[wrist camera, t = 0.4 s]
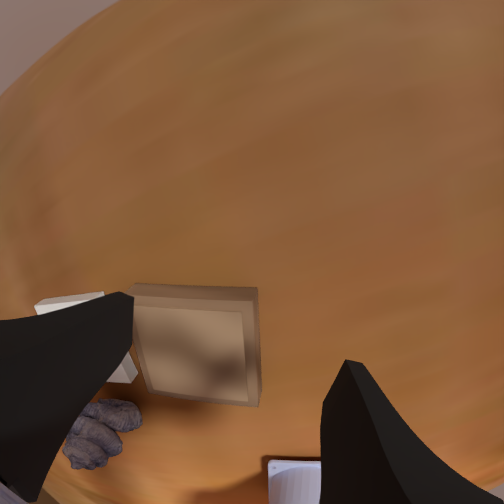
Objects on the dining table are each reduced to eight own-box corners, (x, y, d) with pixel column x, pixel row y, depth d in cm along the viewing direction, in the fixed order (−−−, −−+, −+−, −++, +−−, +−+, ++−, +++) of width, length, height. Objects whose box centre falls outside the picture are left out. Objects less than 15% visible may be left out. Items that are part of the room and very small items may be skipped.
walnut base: (261, 389, 24) (257, 408, 22) (157, 378, 25) (147, 394, 23) (257, 287, 21) (252, 302, 19) (135, 283, 22) (121, 295, 20)
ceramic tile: (138, 373, 25) (131, 383, 24) (76, 369, 27) (69, 378, 26) (103, 291, 23) (93, 299, 22) (43, 299, 25) (34, 305, 23)
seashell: (116, 414, 28) (71, 480, 19) (93, 375, 27) (37, 441, 17) (157, 418, 27) (115, 495, 18) (135, 377, 26) (80, 455, 16)
